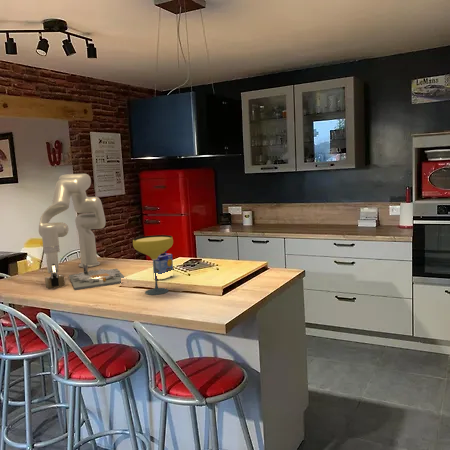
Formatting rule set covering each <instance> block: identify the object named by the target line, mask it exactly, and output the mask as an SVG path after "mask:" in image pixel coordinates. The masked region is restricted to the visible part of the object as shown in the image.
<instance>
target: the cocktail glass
mask: <svg viewBox="0 0 450 450" xmlns="http://www.w3.org/2000/svg"><path fill="white" fill-rule="evenodd" d="M173 244H174V239H173V236H172V235H166V234H155V235H154V234H153V235H145V236H139V237H136V238H133V239H132V246H133V248H134V250H136V252H138V253H141V254H143V255H146V256H148V257H149V258H150V259H151V260H152V261H153V260H154V269H155V279H154V280H155V283H154V287H153V288H150V289H147V290H146V291H144V293H145V294H146V295H149V296H157V295H164V294H166V293H168V292H169V289H168V288H166V289H165V287H159V284H158V280H157V276H156V264H155V260H156V259H157V258H158V256H159V255H160V254H162V253H165V251H166V252H167V251H168V250H170V248H172V246H173Z"/></svg>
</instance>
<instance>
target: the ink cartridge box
mask: <svg viewBox="0 0 450 450" xmlns="http://www.w3.org/2000/svg"><path fill="white" fill-rule="evenodd" d="M173 259H174V258H173V254H172V253H167V251H165V252H163V253H162V254H160V255H159V256H158V258H157V259H156V260H155V264H156V273H158V274H162V273H165V272H168V271H171V270H173V271H174V265H173ZM152 267H153V268H152V269H153V270H152V272H153V274H154V273H155V269H154V260H152Z"/></svg>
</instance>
